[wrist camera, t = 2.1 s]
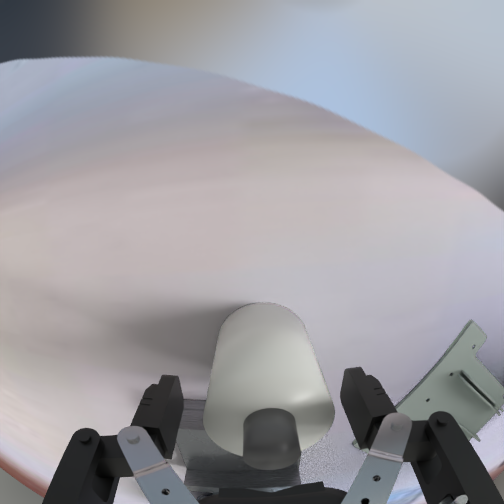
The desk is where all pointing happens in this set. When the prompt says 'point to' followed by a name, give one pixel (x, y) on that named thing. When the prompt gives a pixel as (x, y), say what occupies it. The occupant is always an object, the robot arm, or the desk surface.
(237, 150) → the desk surface
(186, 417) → the motor
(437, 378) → the metal bracket
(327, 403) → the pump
